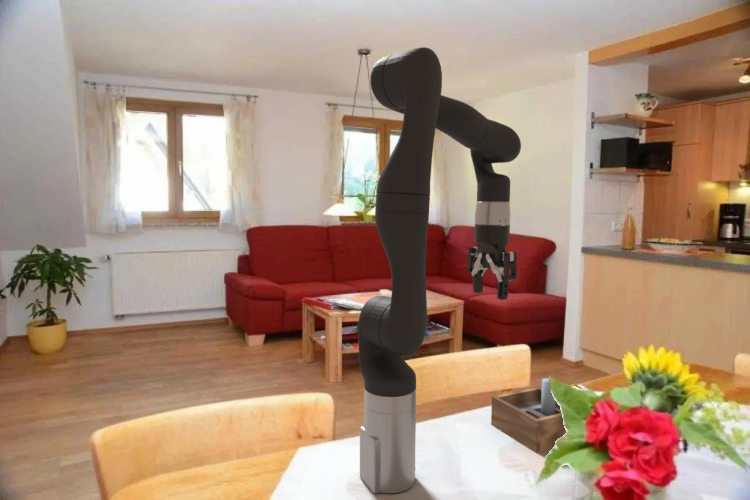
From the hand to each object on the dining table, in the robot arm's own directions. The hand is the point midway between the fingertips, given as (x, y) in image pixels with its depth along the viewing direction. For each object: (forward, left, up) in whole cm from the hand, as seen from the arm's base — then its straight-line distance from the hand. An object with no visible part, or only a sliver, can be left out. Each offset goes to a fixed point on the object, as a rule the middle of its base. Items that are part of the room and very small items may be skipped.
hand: (489, 295), depth 111 cm
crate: (+7, -8, -29) cm, 31 cm away
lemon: (+20, -6, -30) cm, 36 cm away
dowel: (+10, -8, -29) cm, 32 cm away
